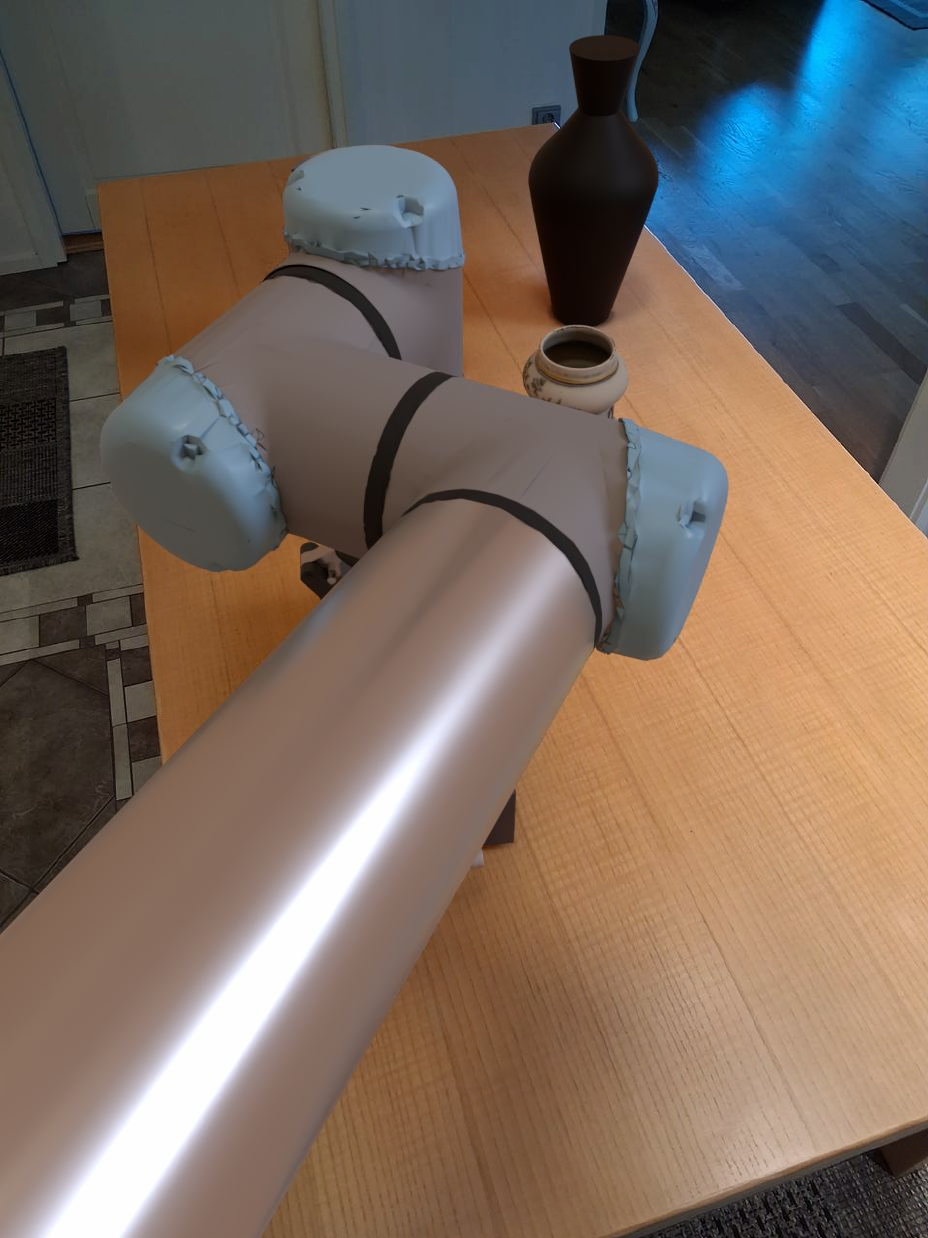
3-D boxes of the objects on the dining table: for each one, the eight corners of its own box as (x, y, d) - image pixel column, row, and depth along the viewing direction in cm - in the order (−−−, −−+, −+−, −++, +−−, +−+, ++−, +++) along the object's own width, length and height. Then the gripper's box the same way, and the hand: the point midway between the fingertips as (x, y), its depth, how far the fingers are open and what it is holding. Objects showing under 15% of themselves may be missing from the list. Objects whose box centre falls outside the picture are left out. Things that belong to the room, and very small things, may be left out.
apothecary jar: (518, 504, 107) (522, 377, 93) (518, 440, 115) (522, 313, 101) (619, 505, 107) (638, 378, 93) (613, 441, 114) (630, 314, 101)
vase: (660, 306, 134) (704, 41, 107) (597, 359, 126) (627, 86, 99) (566, 270, 141) (585, 13, 115) (500, 318, 133) (503, 53, 106)
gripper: (524, 405, 52) (515, 654, 70) (259, 429, 51) (320, 676, 69) (547, 492, 47) (531, 736, 65) (255, 521, 46) (322, 760, 64)
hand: (422, 705), depth 67 cm, fingers open, 2 cm apart
